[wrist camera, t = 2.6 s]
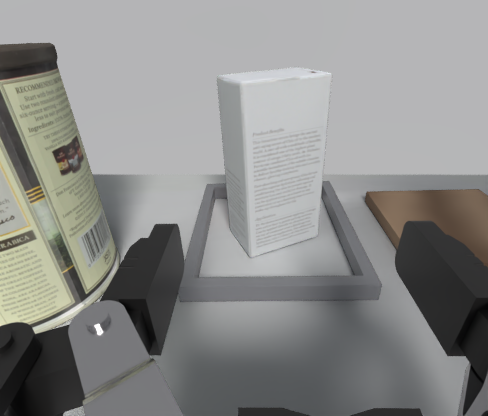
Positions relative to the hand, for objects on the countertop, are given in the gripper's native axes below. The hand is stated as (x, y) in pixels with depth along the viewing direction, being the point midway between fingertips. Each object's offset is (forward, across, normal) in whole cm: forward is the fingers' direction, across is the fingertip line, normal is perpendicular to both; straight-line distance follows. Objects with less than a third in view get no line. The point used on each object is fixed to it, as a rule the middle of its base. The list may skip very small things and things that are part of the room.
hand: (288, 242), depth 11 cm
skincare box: (+11, 0, +8) cm, 14 cm away
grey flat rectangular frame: (+11, 0, +8) cm, 14 cm away
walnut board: (+11, -14, +8) cm, 20 cm away
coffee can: (+6, +16, +8) cm, 19 cm away
